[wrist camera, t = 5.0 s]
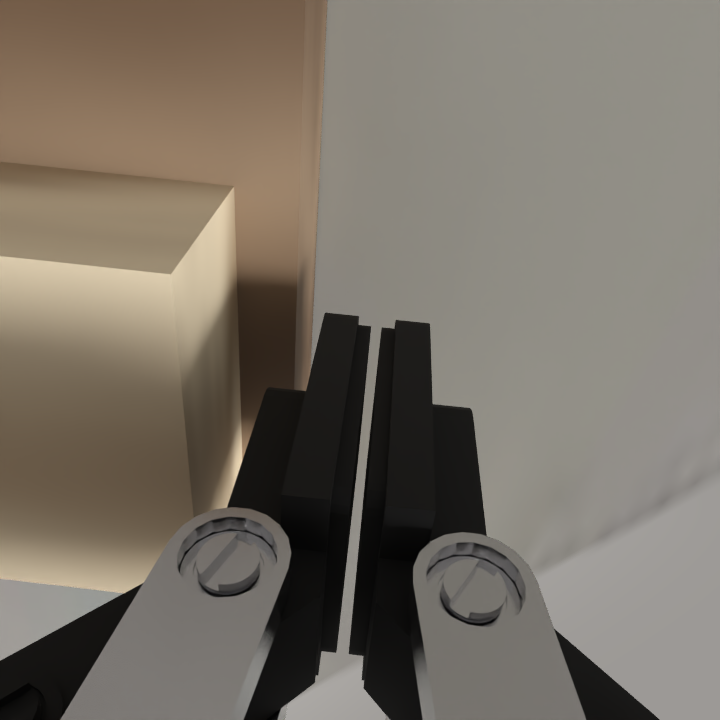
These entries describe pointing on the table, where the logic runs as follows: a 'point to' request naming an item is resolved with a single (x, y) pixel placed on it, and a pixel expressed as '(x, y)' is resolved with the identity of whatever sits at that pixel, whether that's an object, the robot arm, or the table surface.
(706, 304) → the table surface
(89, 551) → the maple tile
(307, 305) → the plate
